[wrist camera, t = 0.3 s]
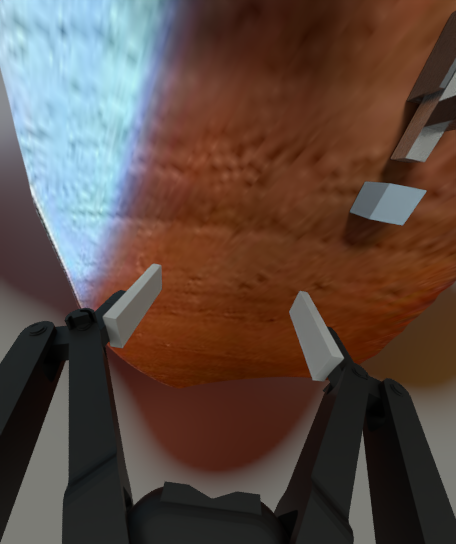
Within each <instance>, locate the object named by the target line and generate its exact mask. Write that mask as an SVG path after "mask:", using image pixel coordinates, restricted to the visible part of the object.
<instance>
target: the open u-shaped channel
mask: <svg viewBox="0 0 456 544" xmlns="http://www.w3.org/2000/svg"><path fill="white" fill-rule="evenodd" d="M455 70H456V11H454V12H453V13H452V14H451V16H450V18H449V20H448V22H447V24H446V26H445V27H444V29H443V31H442V33H441V35H440V37H439V39H438V41H437V43H436V45H435V47H434V49H433V51H432V53H431V55H430V57H429V59H428V60H427V62H426V64H425V66H424V68H423V70H422V72H421V74H420V76H419V78H418V80H417V82H416V84H415V86H414V88H413V90H412V92H411V93H410V95H409V97H408V99H407V101H409V102H414V103H418V104H421V102H422V100H423V98H424V97H425V96H427V95H429V94H432V93H434V92H437V91H439V90H442V89H444V88H445V87H446V85H447V83H448V82H449V80H450V78H451V77H452V75H453V73H454V71H455Z"/></svg>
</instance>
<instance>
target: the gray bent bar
mask: <svg viewBox="0 0 456 544" xmlns="http://www.w3.org/2000/svg"><path fill="white" fill-rule="evenodd" d="M455 129H456V70H455V71H454V73H453V75H452V77H451V78H450V80H449V82H448V83H447V85H446V87H445V88H444V89H442V90H439V91H437V92H434V93H432V94H429V95H427V96H425V97H424V98H423V100H422V102H421V104H420V106H419V107H418V109H417V111H416V113H415V115H414V117H413V118H412V120H411V122H410V124H409V126H408V127H407V129H406V131H405V133H404V135H403V137H402V138H401V140H400V142H399V144H398V146H397V147H396V149H395V151H394V153H393V155H392V157H391V158H390V159H391V160H396V161H401V162H406V163H413V162H425V161H426V159H427V158H428V156H429V154H430V153H431V151H432V150H433V148H434V147H435V145H436V143H437V142H438V140H439V139H440V137H441V136H442V134H443V133H444V132H445V131H450V130H455Z"/></svg>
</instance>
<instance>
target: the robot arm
mask: <svg viewBox="0 0 456 544" xmlns="http://www.w3.org/2000/svg"><path fill="white" fill-rule="evenodd" d="M161 290H162V274H161V265H158V264H152V265H151V266H150V267H149V268H148V269H147V270H146V271H145V273H144V274H143V275H142V276H141V277H140V278H139V279H138V280H137V281H136V282H135V283H134V284H133V285H132V286H131V287H130V288H129V289H128V290H127V291H123V290H120V291H118V292H116V293H114V294H113V295H112V296H111V297H110V298H109V299H108V300H107V301H105V303H103V304H102V305H101V306H100V307H99V308H98V309H97V310H96V311H95V312H94V310H92V309H90V308H82V309H78V310H75V311H73V312H71V313H70V314H68V315H67V316H66V318H65V322H66V324H67V326H60V327H55V326H54V324H53V323H52V322H49V321H42V322H38V323H35V324H32V325H30V326H29V327H27V328H25V329H24V330H23V331H22V332H21V333H20V335H19V336H18V338H17V339H16V341H15V342H14V344H13V345H12V347H11V348H10V350H9V351H8V353H7V354H6V356H5V358H4V359H3V360H2V362H1V363H0V542H1V539H2V536H3V533H4V531H5V528H6V525H7V522H8V520H9V517H10V514H11V511H12V508H13V506H14V503H15V500H16V497H17V495H18V492H19V489H20V486H21V483H22V481H23V478H24V475H25V472H26V470H27V467H28V464H29V461H30V458H31V455H32V453H33V450H34V447H35V444H36V442H37V439H38V436H39V433H40V431H41V428H42V425H43V422H44V420H45V417H46V414H47V411H48V408H49V405H50V403H51V400H52V397H53V395H54V392H55V389H56V386H57V383H58V381H59V378H60V375H61V372H62V370H63V367H64V364H65V361H66V360H69V481H68V486H67V489H66V491H65V494H64V499H63V519H62V520H63V521H62V522H63V523H62V544H353V542H354V537H353V531H352V528H351V526H350V525H349V520H348V519H349V510H350V504H351V498H352V492H353V485H354V480H355V473H356V467H357V461H358V454H359V448H360V442H361V436H362V430H363V437H364V445H365V454H366V462H367V471H368V479H369V488H370V497H371V506H372V514H373V523H374V530H375V531H374V532H375V540H376V544H456V518H455V516H454V513H453V511H452V508H451V505H450V502H449V499H448V497H447V494H446V491H445V489H444V486H443V483H442V480H441V478H440V475H439V472H438V470H437V467H436V464H435V461H434V459H433V456H432V454H431V451H430V448H429V445H428V443H427V440H426V437H425V434H424V432H423V429H422V426H421V424H420V421H419V418H418V415H417V413H416V410H415V407H414V405H413V402H412V399H411V397H410V395H409V393H408V392H407V390H406V389H405V388H404V387H403V386H402V385H400V384H399V383H398V382H396V381H394V380H392V379H388V378H386V379H385V380H384V381H382V382H381V381H379V380H377V379H374V378H373V377H370V376H369V375H368V373H367V372H366V371H365V370H364V369H363V368H362V367H361V366H360V365H358V364H356V363H354V362H353V360H352V359H351V357H350V355H349V354H348V352H347V350H346V348H345V347H344V345H343V343H342V342H341V340H340V338H339V337H338V335H337V333H336V332H335V331H334V330H333V329H332V328H331V327H327V326H326V325H325V323H324V321H323V319H322V318H321V316H320V314H319V312H318V310H317V309H316V307H315V305H314V303H313V301H312V300H311V298H310V296H309V294H308V292H303V291H299V293H298V295H297V297H296V299H295V301H294V303H293V305H292V307H291V309H290V311H289V313H290V316H291V319H292V322H293V324H294V327H295V330H296V333H297V336H298V339H299V342H300V345H301V347H302V350H303V353H304V356H305V359H306V362H307V365H308V367H309V370H310V373H311V376H312V379H313V380H317V381H324V380H325V379H326V378H327V377H328V379H329V381H330V383H329V384H328V385H327V386H326V387H325V388H324V390H323V391H324V392H325V394H324V396H323V398H322V401H321V403H320V406H319V409H318V412H317V414H316V416H315V419H314V421H313V424H312V426H311V429H310V431H309V434H308V437H307V439H306V442H305V444H304V447H303V449H302V452H301V454H300V457H299V459H298V462H297V464H296V467H295V469H294V472H293V475H292V477H291V480H290V482H289V485H288V487H287V490H286V491H285V493H284V495H283V496H282V498H281V499H280V501H279V503H278V505H277V507H276V509H275V511H274V513H273V512H272V511H271V510H270V509H269V508H268V507H267V506H266V505H265V504H264V503H262V502H261V501H260V495H259V494H252V493H244V492H234V493H230V494H227V495H224V496H221V497H217V498H214V499H213V498H209V497H208V496H206V495H205V494H203V493H201V492H200V491H198V490H196V489H195V488H193V487H191V486H190V485H186V484H179V483H172V482H165V483H164V487H160V488H158V489H155V490H153V491H151V492H150V493H148V494H147V495H145V496H144V497H143V498H141V499H140V500H139V501H138V502H137V503H136V504H135V505H133V499H132V493H131V488H130V482H129V478H128V474H127V469H126V464H125V458H124V452H123V447H122V441H121V435H120V429H119V423H118V417H117V411H116V405H115V400H114V394H113V388H112V382H111V376H110V370H109V365H108V358H107V353H106V348H105V345H106V344H107V343H108V342H110V345H111V346H112V347H118V348H123V346H124V345H125V343H126V342H127V340H128V339H129V337H130V336H131V334H132V333H133V331H134V330H135V328H136V327H137V326H138V324H139V323H140V321H141V320H142V318H143V317H144V315H145V314H146V312H147V311H148V309H149V308H150V306H151V305H152V303H153V302H154V300H155V299H156V297H157V296H158V294H159V293H160V291H161Z"/></svg>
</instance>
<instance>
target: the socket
mask: <svg viewBox="0 0 456 544" xmlns="http://www.w3.org/2000/svg"><path fill="white" fill-rule="evenodd" d="M425 193H426V190H421V189H416V188H411V187H406V186H401V185H396V184H391V183H379V182H366V181H365V183H364V185H363V187H362V189H361V191H360V192H359V194H358V196H357V198H356V200H355V202H354V204H353V206H352V208H351V210H350V212H351V213H354V214H357V215H359V216H362V217H365V218H368V219H372V220H377V221H382V222H387V223H392V224H398V225H403V224H404V223H405V221H406V220H407V219H408V217H409V216H410V214H411V213H412V211H413V210H414V209H415V207H416V206H417V204H418V203H419V201H420V200H421V199H422V197H423V196H424V194H425Z"/></svg>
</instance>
